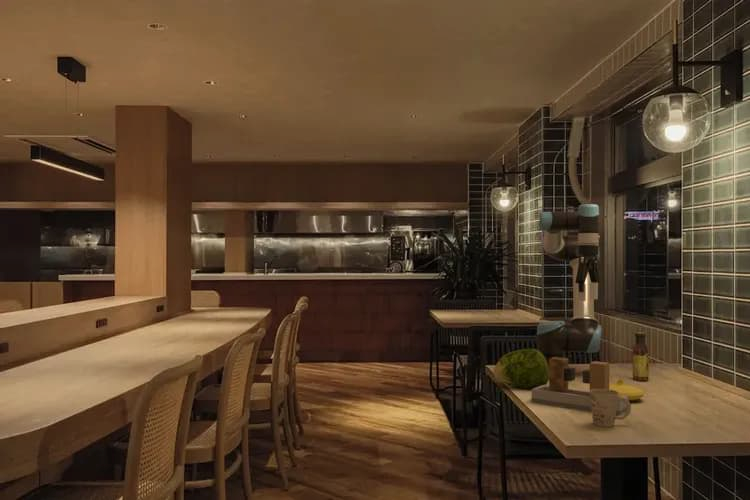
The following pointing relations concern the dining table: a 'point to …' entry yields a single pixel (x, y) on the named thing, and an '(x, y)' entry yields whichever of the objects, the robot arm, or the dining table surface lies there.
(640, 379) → the sauce bottle
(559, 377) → the brown tall block
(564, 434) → the dining table surface
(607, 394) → the mug
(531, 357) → the lettuce
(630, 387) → the yellow curved piece
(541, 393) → the brown blocky pieces
